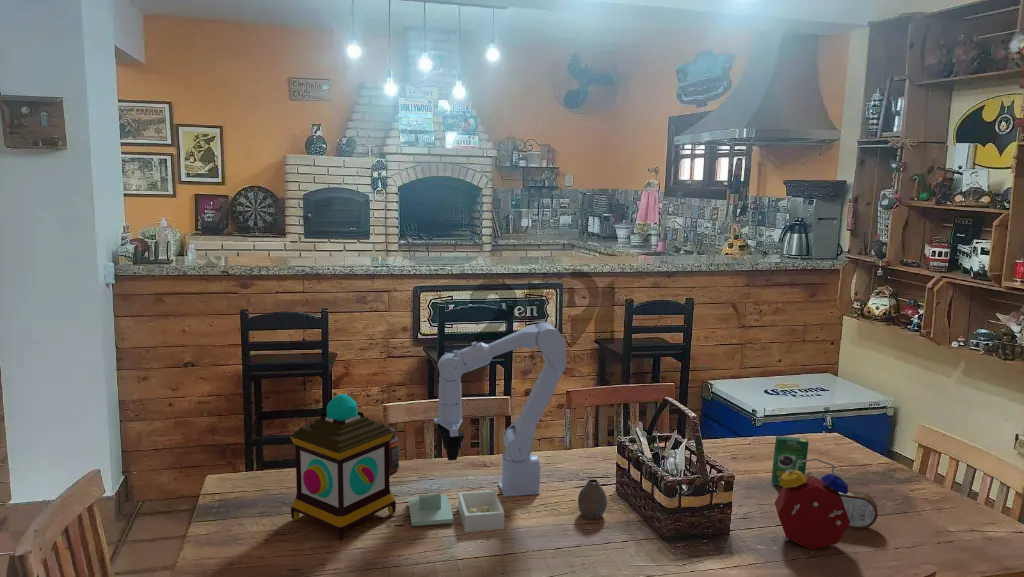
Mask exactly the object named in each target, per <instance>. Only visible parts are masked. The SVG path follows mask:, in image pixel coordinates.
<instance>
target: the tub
mask: <svg viewBox="0 0 1024 577" xmlns="http://www.w3.org/2000/svg"><path fill="white" fill-rule="evenodd" d="M457 494H458V499H457V500H458V503H457V506H458V507H457V508H458V512H459V516H460V519H461V521H462V522H461V523H462V526H463V529H464V532H465V533H472V532H483V531H484V532H485V531H497V530H504V529H505V511H504V508H503V506H502V504H501V501H500V499H499V496H498V494H497V492H496V490H495V489H492V490H491V489H490V490H479V491H465V492H464V491H462V492H457Z"/></svg>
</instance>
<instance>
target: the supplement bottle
mask: <svg viewBox="0 0 1024 577" xmlns="http://www.w3.org/2000/svg"><path fill="white" fill-rule="evenodd" d="M389 428H390V429H391V430H393V431H394V433H393V436H392V438H391V440H390V442H389V474H392V473H395V472H397V471H398V470H399V469H400V459H399V457H400V455H399V454H400V453H399V452H400V450H399V449H400V448H399V438H398V436H396V432H395V429H394V428H392V427H389Z"/></svg>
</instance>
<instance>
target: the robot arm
mask: <svg viewBox="0 0 1024 577" xmlns="http://www.w3.org/2000/svg"><path fill="white" fill-rule="evenodd" d="M566 344H567V343H566V342H565V340H564V338H563V336H562V334H561V332H560V331H558V330H557V329H556V328H555V326H554V325H553V324H552V323H551V322H549V321H540V322H538V323H536V324H531V325H528V326H526V327H524V328H522V329H519V330H518V331H515V332H513V333H510V334H508V335H506V336H503V337H502V338H500V339H497V340H495V341H493V342H491V343H488V344H487V343H484V342H481V341H480V342H477V341H474V342H471V346H467V347H465V348H463V349H459V350H457V349H455V350H453V353H451V352H447V353H445V354H443V355H442V356H441V357H440V358H439V360H438V363H437V368H438V372H439V377H438V381H439V383H438V417H437V418H433V423H434V424H435V425H437V426H438V428H439V430H440V436H441V440H442V445H443V448H444V450H445V452H446V457H447V460H448V461H456V460H458V455H459V451H460V448H461V444H462V441H463V440H464V439H465V438H464V437H465V433H464V432H459V428H460V427H461V425H462V424H463V416H462V415H463V413H462V412H463V410H462V409H463V408H462V407H463V405H462V404H463V403H462V399H463V397H462V396H463V395H462V392H463V390H462V388H463V384H462V378H461V377H462V376H463V374H464V373H466V374H467V373H469V372H471V371H474V370H476V369H480V368H481V367H484V366H486V365H490V363H491V361H492V359H493V358H494V357H496V356H499V355H502V354H505V353H508V352H510V351H513V350H516V349H519V348H520V349H521V348H522V347H524V348H527V349H531V350H535V351H536V348H537V347H538V349H539V350H540V352H541V355H542V357H543V359H544V365H543V366H542V369H541V371H540V373H539V374H538V377H537V378H536V381H535V383H534V385H533V386H532V388H531V391H530V393H529V395H528V397H527V399H526V401H525V403H524V405H523V407H522V409H521V411H520V413H519V415H518V417H516V418H515V419H514V420H513V422H512V423H511V425H509V427H507V428H506V429H505V430H504V431H503V434H502V442H503V445H504V446H505V449H504V451H503V452H502V467H501V468H502V474H501V477H502V478H501V481H498V483H497V484H498V486H499V488H500V491H501V493H502V496H503V497H517V496H529V495H530V496H531V495H540V494H541V491H540V487H541V486H540V482H541V480H540V479H541V478H540V475H541V465H540V460H539V457H538V455H537V454H532V451H533V449H532V448H533V447H532V446H533V442H534V440H535V436H536V429H537V425H538V424H539V422H540V420H541V418H542V416H543V414H544V412H545V410H546V407H547V406H548V403H549V402H550V399H551V398H552V396H553V394H554V392H555V390H556V388H557V386H558V383H559V382H560V380H561V377H562V375H563V374H564V372H565V370H566V367H567V356H566V355H567V354H566ZM536 346H537V347H536Z"/></svg>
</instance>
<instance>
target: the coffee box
mask: <svg viewBox="0 0 1024 577" xmlns="http://www.w3.org/2000/svg"><path fill="white" fill-rule="evenodd" d="M808 450H809V441H808V439H807V438H803V437H802V438H801V437H791V436H783V435H776V436H775V442H774V453H773V460H772V461H773V463H772V471H771V484H772V486H779V487H781V486H780V485H779V483H780V479H781V477H782V475H783V474H784V473H786V472H788V471H789V469H790V470H791V471H793V470H795V469H796V465H797V461H802V460H808V453H809V452H808ZM806 468H807V462H801V463H799V465H798V471H800V472H802V473H803V474H804V475H805V474H806Z"/></svg>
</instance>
